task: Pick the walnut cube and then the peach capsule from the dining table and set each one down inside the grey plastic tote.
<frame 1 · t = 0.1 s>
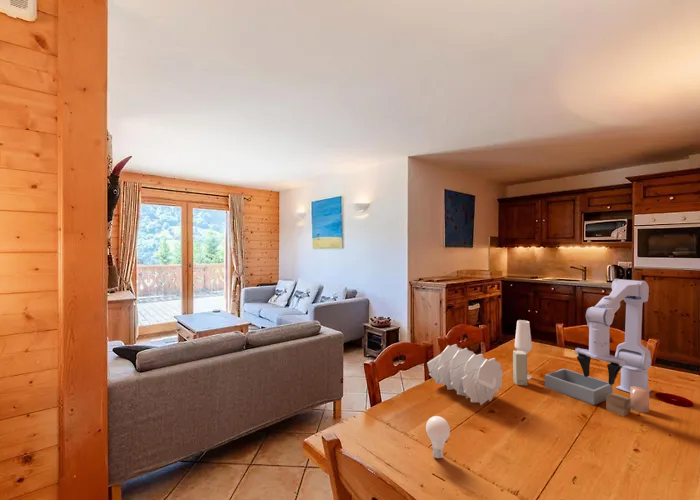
hand: (598, 380, 116), 10 cm above the table, tool pointing down, fingers open, 7 cm apart
lightbulb: (437, 458, 90), on the table
walnut cube: (618, 411, 114), on the table
tote: (577, 391, 129), on the table
peach capsule: (639, 409, 115), on the table
box: (519, 383, 137), on the table
spiral staircase: (464, 394, 127), on the table
champagne flute: (522, 376, 145), on the table
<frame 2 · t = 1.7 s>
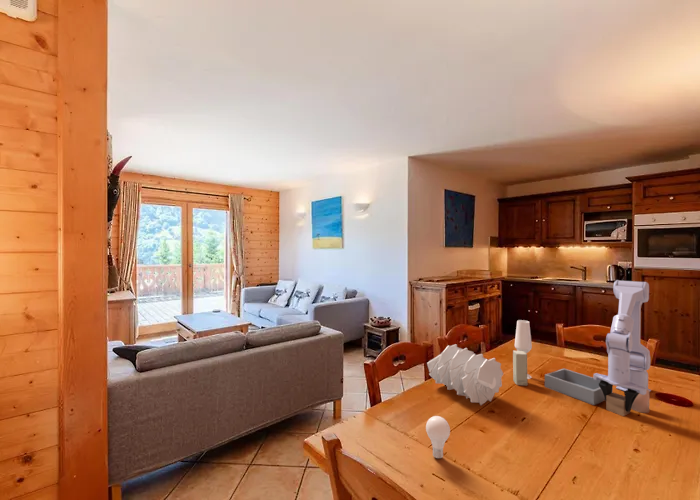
hand: (618, 407, 114), 1 cm above the table, tool pointing down, fingers closed on walnut cube, 5 cm apart
walnut cube: (618, 411, 114), on the table, touching gripper
everything else where it was.
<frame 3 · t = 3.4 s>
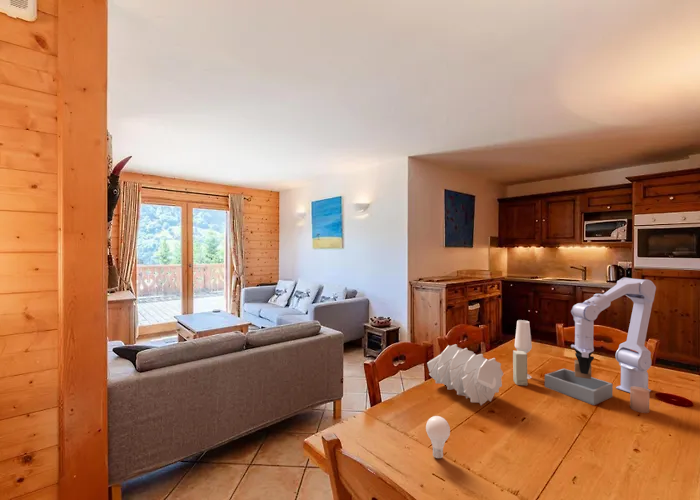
hand: (583, 370, 126), 9 cm above the table, tool pointing down, fingers closed on walnut cube, 5 cm apart
walnut cube: (582, 375, 126), point 8 cm above the table, touching gripper
everything else where it was.
when the fingers open (4 cm above the table, at t = 5.4 s): walnut cube drops 1 cm, resting on tote.
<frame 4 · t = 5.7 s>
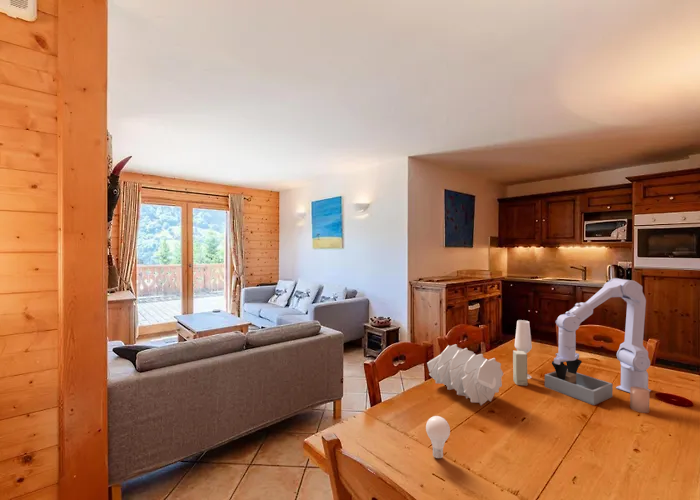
hand: (566, 378, 133), 4 cm above the table, tool pointing down, fingers open, 7 cm apart
walnut cube: (566, 386, 133), point 1 cm above the table, touching tote
everything else where it was.
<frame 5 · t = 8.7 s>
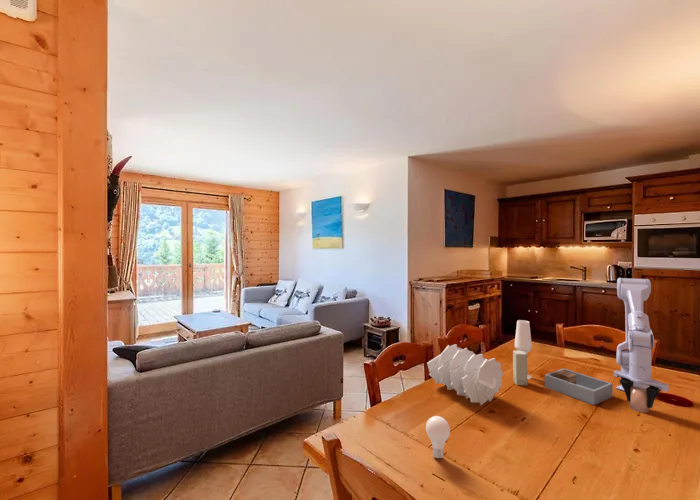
hand: (639, 403, 115), 2 cm above the table, tool pointing down, fingers closed on peach capsule, 5 cm apart
peach capsule: (639, 409, 115), on the table, touching gripper
everything else where it was.
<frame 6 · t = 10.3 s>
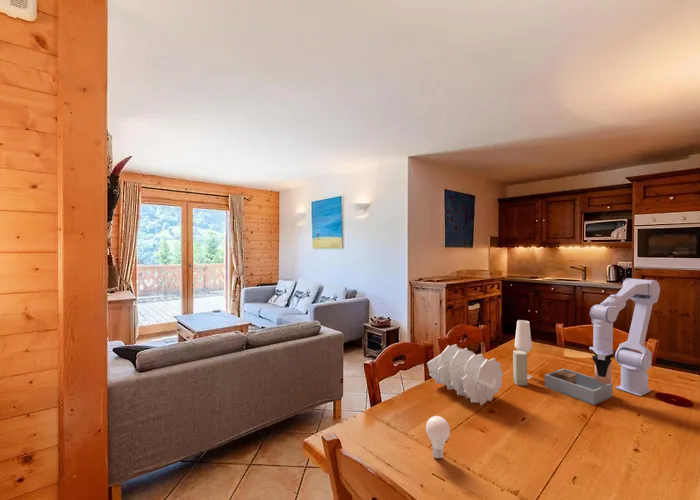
hand: (602, 374, 123), 9 cm above the table, tool pointing down, fingers closed on peach capsule, 5 cm apart
peach capsule: (602, 381, 123), point 7 cm above the table, touching gripper
everything else where it was.
when the fingers open (4 cm above the table, at t = 12.1 s): peach capsule stays where it is, resting on tote.
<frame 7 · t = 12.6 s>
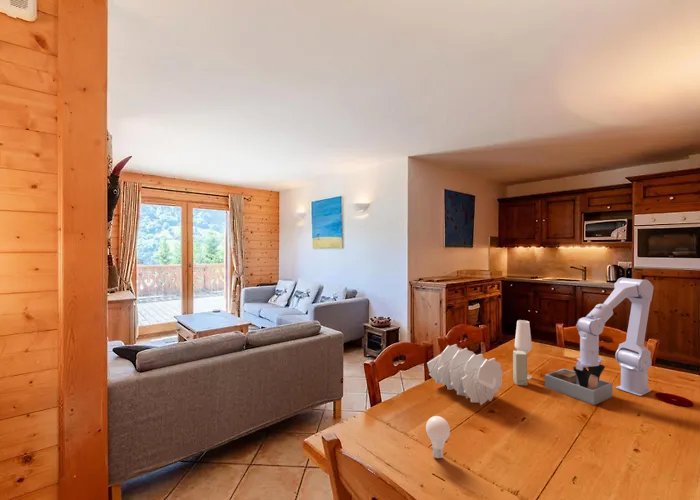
hand: (588, 385, 126), 4 cm above the table, tool pointing down, fingers open, 7 cm apart
peach capsule: (589, 394, 126), point 1 cm above the table, touching tote
everything else where it was.
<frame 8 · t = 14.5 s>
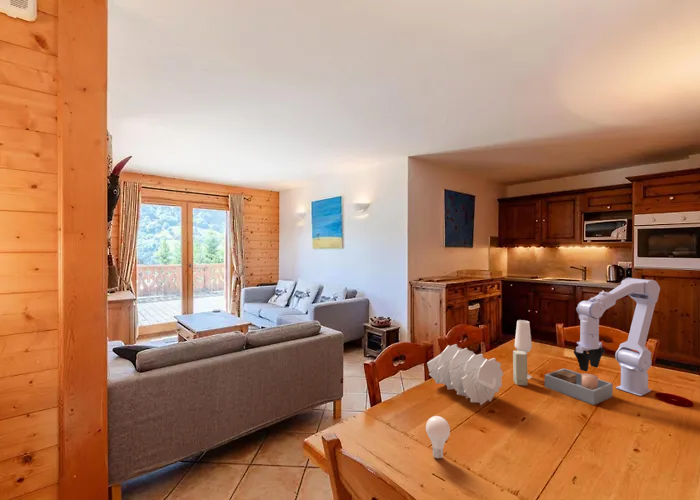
hand: (589, 368, 126), 10 cm above the table, tool pointing down, fingers open, 7 cm apart
nothing on the table moved.
at the end: walnut cube inside the target area on the tote (4.2 cm from its centre), point 0.6 cm above the tote's base; peach capsule inside the target area on the tote (4.2 cm from its centre), point 0.6 cm above the tote's base; the gripper is holding nothing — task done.
